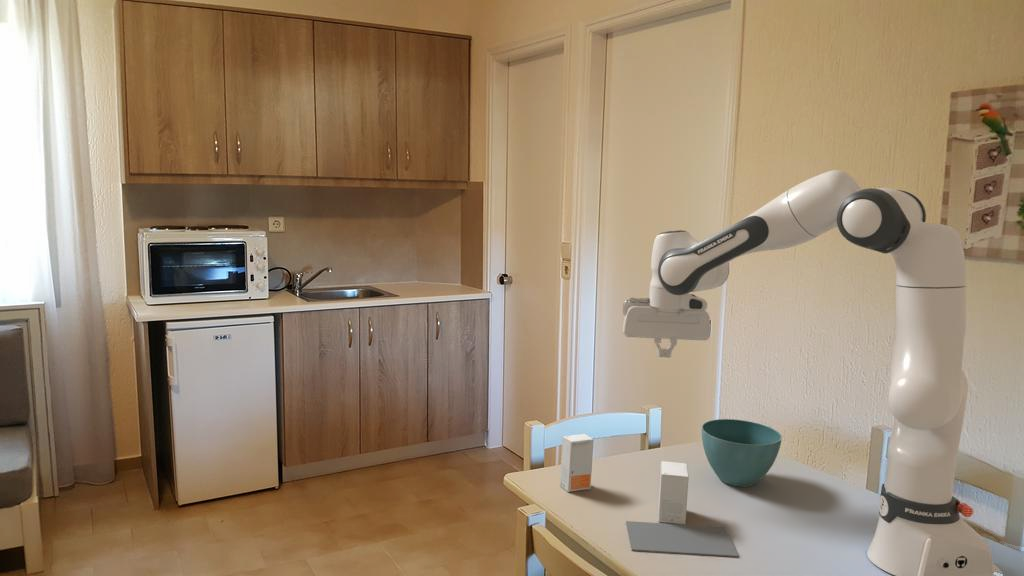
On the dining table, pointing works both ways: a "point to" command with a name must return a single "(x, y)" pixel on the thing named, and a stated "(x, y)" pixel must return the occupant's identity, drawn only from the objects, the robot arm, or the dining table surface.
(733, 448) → the teal bowl
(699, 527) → the mat
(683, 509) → the small box
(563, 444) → the skincare box
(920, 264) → the robot arm
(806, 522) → the dining table surface
